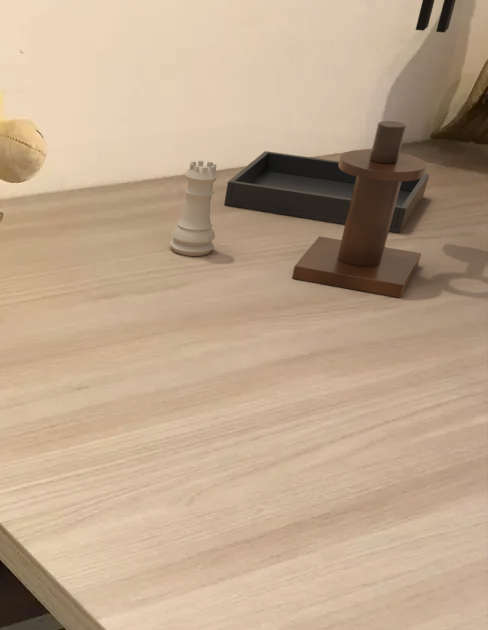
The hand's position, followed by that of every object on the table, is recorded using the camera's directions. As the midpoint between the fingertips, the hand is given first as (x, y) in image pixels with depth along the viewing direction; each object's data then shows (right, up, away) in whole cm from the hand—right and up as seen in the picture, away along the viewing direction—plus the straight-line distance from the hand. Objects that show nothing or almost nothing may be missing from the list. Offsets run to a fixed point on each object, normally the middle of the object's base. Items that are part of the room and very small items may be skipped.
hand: (432, 28), depth 98 cm
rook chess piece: (-22, -19, +5) cm, 30 cm away
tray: (-4, -8, +19) cm, 21 cm away
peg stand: (-7, -23, +1) cm, 24 cm away
